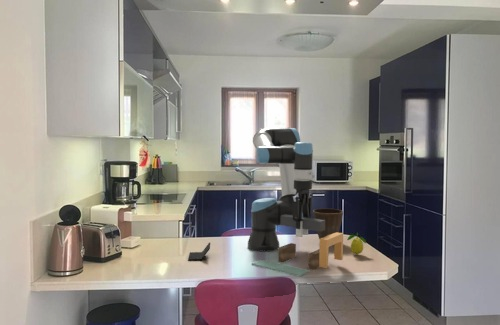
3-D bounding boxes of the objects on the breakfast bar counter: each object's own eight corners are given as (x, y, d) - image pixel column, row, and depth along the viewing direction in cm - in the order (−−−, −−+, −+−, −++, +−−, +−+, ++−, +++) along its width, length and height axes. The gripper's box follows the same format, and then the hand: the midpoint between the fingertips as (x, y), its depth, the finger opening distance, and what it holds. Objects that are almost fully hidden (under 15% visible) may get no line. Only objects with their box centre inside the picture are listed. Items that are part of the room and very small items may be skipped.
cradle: (278, 261, 169) (278, 247, 168) (290, 256, 177) (291, 243, 176) (314, 269, 158) (314, 254, 158) (325, 263, 166) (326, 249, 166)
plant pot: (325, 247, 193) (326, 214, 192) (306, 240, 206) (306, 209, 205) (348, 243, 200) (349, 211, 200) (328, 237, 213) (329, 207, 213)
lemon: (346, 254, 180) (347, 232, 179) (352, 252, 184) (352, 230, 184) (360, 257, 176) (361, 235, 175) (366, 254, 180) (366, 232, 180)
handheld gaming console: (185, 250, 179) (199, 233, 179) (197, 259, 181) (211, 242, 181) (187, 261, 168) (202, 243, 168) (200, 270, 170) (215, 252, 170)
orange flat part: (319, 266, 154) (319, 238, 154) (335, 258, 166) (336, 232, 165) (326, 268, 152) (326, 239, 152) (342, 259, 164) (343, 233, 163)
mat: (251, 264, 164) (251, 263, 164) (261, 260, 170) (261, 259, 170) (300, 276, 150) (300, 274, 150) (309, 271, 155) (309, 270, 155)
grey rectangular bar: (280, 225, 171) (280, 215, 171) (285, 223, 174) (285, 214, 174) (320, 231, 160) (320, 221, 159) (324, 229, 163) (325, 220, 163)
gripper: (300, 182, 157) (299, 240, 158) (320, 178, 170) (319, 233, 172) (284, 180, 161) (283, 237, 163) (305, 177, 175) (304, 230, 176)
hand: (301, 235), depth 167 cm, fingers closed on grey rectangular bar, 4 cm apart
